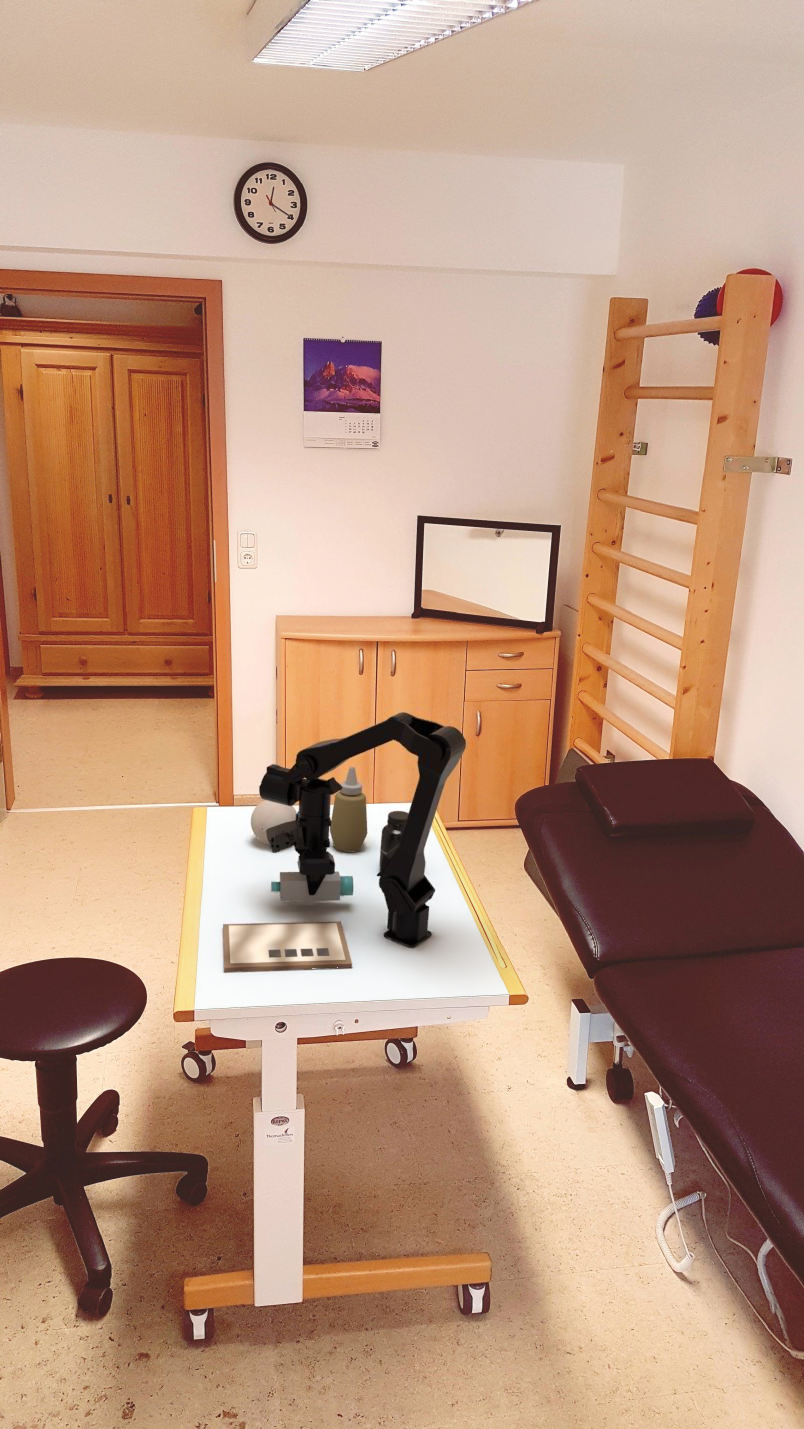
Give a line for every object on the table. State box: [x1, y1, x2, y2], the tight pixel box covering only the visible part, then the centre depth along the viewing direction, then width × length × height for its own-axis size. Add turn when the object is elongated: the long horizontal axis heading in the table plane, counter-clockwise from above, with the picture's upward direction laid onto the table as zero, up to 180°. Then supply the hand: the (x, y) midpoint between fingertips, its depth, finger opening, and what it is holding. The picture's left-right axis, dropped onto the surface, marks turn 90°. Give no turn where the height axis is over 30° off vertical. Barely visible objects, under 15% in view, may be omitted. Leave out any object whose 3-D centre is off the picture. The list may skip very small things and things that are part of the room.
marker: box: [270, 870, 354, 902], centre depth 189 cm, size 15×4×4 cm, turn 100°
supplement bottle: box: [378, 810, 409, 870], centre depth 207 cm, size 7×7×12 cm
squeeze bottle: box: [329, 766, 368, 853], centre depth 215 cm, size 8×8×18 cm
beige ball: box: [250, 799, 298, 845], centre depth 216 cm, size 10×10×10 cm
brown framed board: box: [222, 920, 353, 973], centre depth 174 cm, size 21×15×1 cm
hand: (310, 889), depth 189 cm, fingers closed on marker, 4 cm apart
